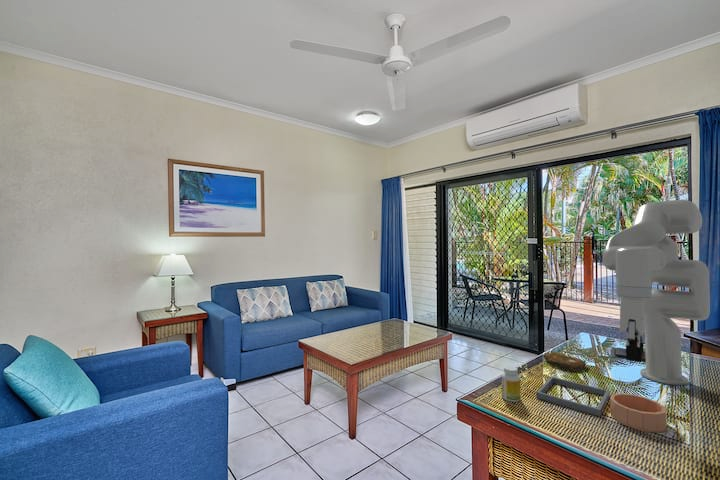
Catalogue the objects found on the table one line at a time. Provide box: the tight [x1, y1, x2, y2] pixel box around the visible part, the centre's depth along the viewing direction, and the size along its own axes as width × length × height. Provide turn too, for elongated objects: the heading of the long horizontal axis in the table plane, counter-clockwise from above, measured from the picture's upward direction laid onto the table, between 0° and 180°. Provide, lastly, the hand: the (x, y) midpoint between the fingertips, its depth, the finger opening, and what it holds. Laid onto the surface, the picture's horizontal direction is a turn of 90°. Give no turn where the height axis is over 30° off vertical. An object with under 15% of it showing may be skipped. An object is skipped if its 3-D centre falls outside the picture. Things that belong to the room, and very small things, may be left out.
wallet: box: [609, 347, 646, 363], centre depth 140 cm, size 20×2×15 cm
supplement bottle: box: [501, 365, 521, 403], centre depth 105 cm, size 5×5×10 cm
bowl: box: [609, 392, 667, 434], centre depth 91 cm, size 12×12×5 cm
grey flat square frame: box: [535, 376, 611, 417], centre depth 105 cm, size 17×17×2 cm
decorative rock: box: [543, 351, 587, 372], centre depth 132 cm, size 11×4×15 cm
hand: (635, 357), depth 91 cm, fingers closed on dice, 4 cm apart
